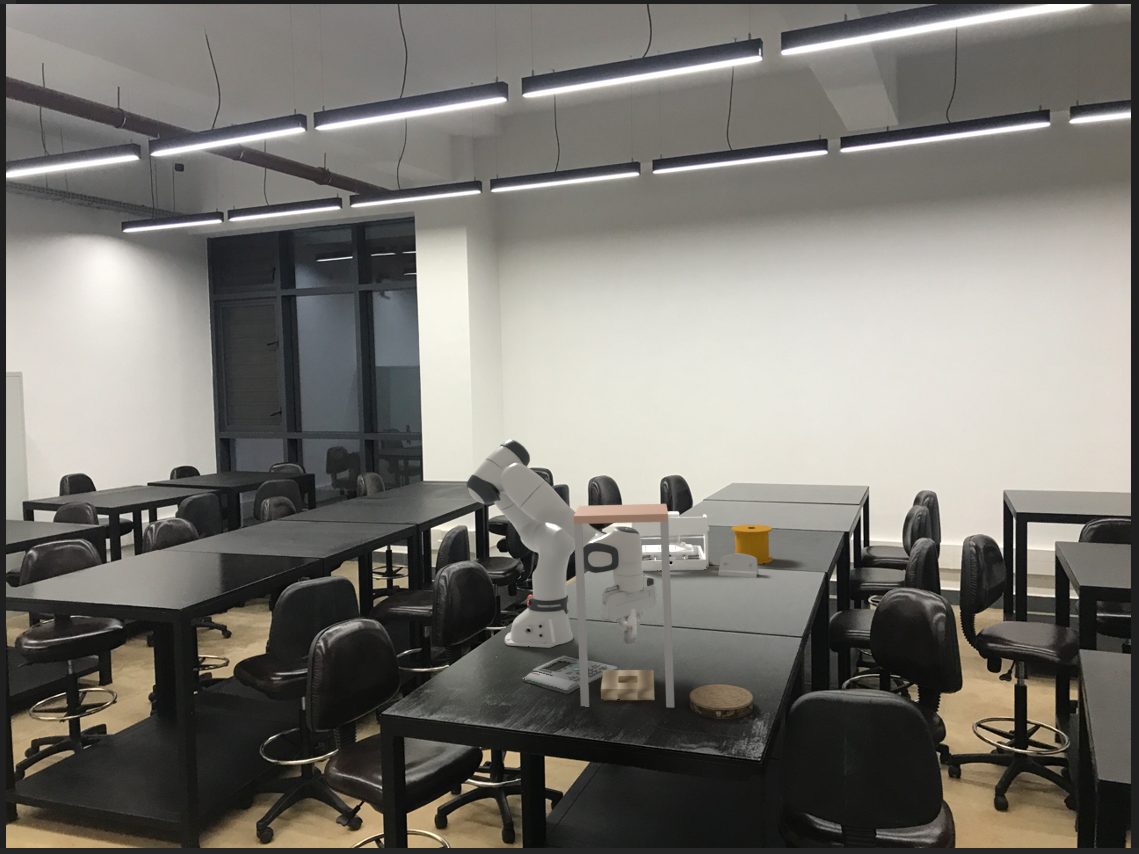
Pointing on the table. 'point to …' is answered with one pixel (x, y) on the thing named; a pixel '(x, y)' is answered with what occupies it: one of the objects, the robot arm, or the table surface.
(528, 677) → the office telephone
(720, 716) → the wood slice
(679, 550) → the 3d printer
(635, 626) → the peg
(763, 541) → the spool
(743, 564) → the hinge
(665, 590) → the pink-topped arch frame
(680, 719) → the table surface
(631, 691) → the socket block
